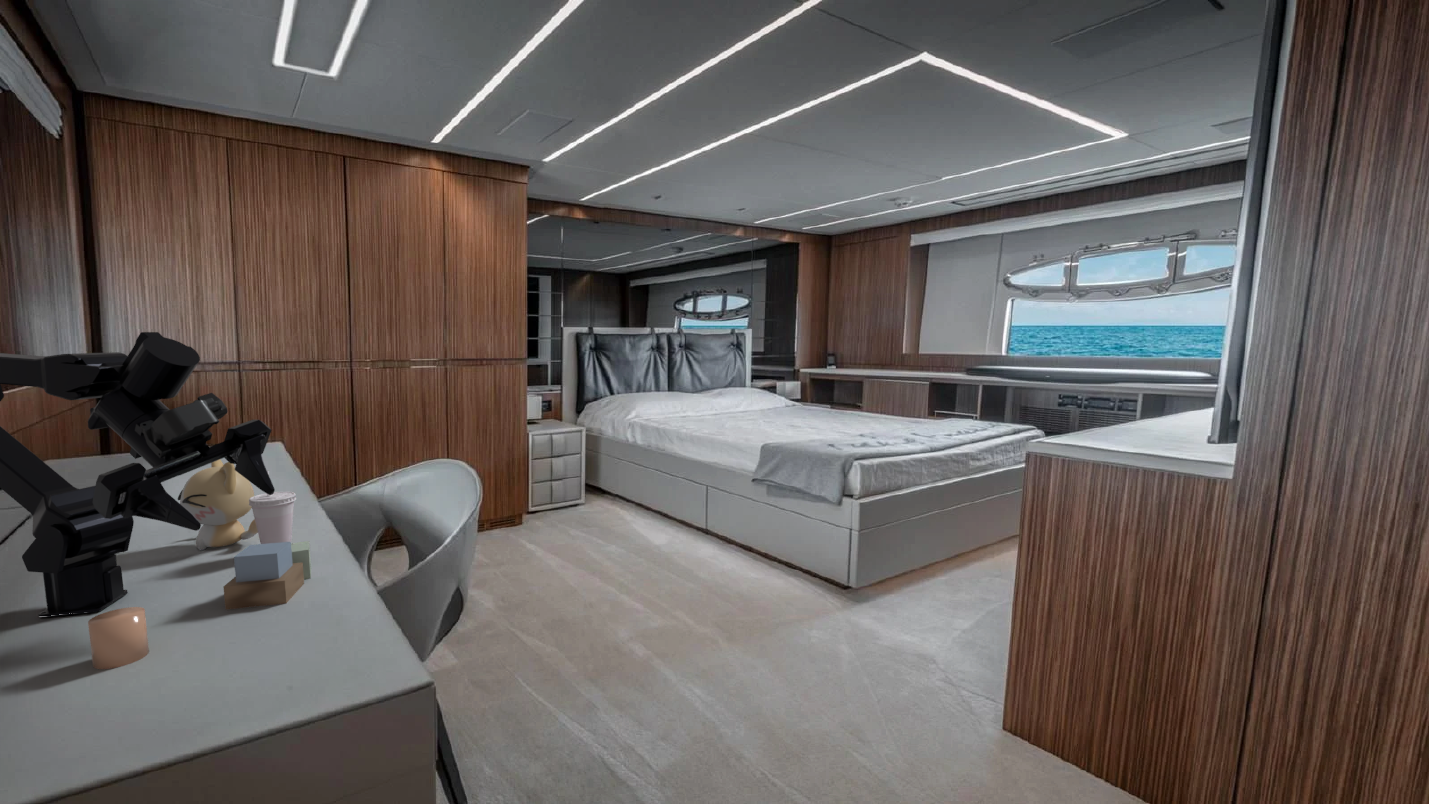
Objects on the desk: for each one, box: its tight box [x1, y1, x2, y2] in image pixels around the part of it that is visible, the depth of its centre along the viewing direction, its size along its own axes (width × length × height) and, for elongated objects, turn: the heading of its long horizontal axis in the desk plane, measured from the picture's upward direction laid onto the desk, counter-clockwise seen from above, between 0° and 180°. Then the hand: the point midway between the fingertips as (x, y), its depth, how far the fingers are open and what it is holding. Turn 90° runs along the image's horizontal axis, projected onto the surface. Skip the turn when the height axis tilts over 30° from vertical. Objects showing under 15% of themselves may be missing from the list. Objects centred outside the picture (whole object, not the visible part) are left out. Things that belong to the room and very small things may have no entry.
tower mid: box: [233, 541, 293, 582], centre depth 87 cm, size 5×5×4 cm
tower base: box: [223, 562, 305, 611], centre depth 87 cm, size 7×7×4 cm
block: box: [291, 540, 312, 580], centre depth 94 cm, size 4×4×4 cm
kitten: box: [177, 459, 258, 551], centre depth 108 cm, size 15×10×15 cm
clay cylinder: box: [87, 606, 150, 670], centre depth 71 cm, size 5×5×5 cm
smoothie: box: [249, 469, 297, 544], centre depth 104 cm, size 6×6×14 cm
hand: (237, 509), depth 79 cm, fingers open, 9 cm apart
